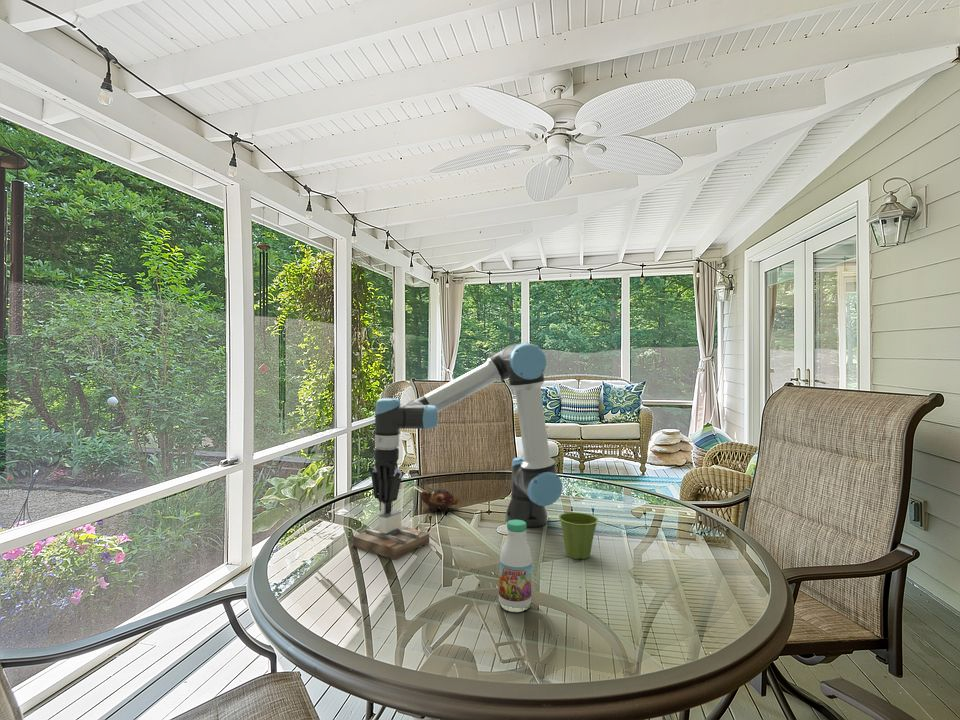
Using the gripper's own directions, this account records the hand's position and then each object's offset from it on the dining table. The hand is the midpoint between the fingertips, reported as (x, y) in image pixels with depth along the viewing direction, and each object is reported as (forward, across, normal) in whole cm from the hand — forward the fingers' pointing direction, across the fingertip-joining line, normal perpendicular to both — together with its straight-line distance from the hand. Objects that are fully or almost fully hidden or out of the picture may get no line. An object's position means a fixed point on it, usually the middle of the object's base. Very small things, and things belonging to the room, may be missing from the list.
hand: (385, 522), depth 155 cm
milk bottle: (+7, +53, -11) cm, 54 cm away
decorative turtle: (+7, -7, +37) cm, 38 cm away
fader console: (+6, +3, 0) cm, 7 cm away
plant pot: (+7, +54, +27) cm, 60 cm away
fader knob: (+3, +2, 0) cm, 4 cm away
